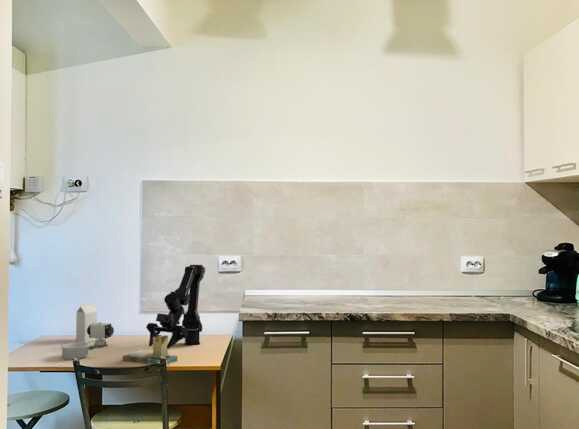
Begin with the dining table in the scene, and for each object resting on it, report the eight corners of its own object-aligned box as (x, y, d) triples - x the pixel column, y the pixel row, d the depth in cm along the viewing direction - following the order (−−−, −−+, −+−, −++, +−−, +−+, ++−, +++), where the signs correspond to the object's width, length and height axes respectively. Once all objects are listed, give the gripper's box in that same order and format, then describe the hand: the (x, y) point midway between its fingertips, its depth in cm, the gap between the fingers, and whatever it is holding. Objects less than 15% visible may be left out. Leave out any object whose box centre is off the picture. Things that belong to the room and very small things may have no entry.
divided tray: (177, 360, 211) (177, 353, 211) (164, 366, 202) (164, 358, 202) (136, 355, 219) (136, 348, 219) (122, 360, 211) (122, 353, 211)
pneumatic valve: (108, 348, 231) (108, 323, 232) (86, 347, 234) (86, 322, 234) (114, 345, 237) (115, 321, 237) (93, 344, 239) (93, 320, 239)
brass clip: (159, 360, 211) (159, 334, 212) (167, 361, 210) (167, 335, 210) (152, 362, 207) (153, 336, 208) (161, 363, 206) (161, 337, 206)
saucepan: (103, 360, 211) (103, 347, 211) (56, 361, 210) (56, 348, 211) (112, 353, 222) (112, 341, 223) (67, 354, 222) (68, 341, 222)
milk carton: (97, 340, 248) (97, 303, 248) (84, 343, 242) (85, 305, 242) (88, 339, 251) (88, 302, 252) (75, 341, 245) (76, 304, 246)
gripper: (148, 304, 216) (131, 334, 206) (184, 307, 209) (168, 338, 199) (159, 319, 223) (143, 349, 213) (194, 322, 216) (179, 353, 206)
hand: (158, 347), depth 207 cm, fingers open, 9 cm apart
